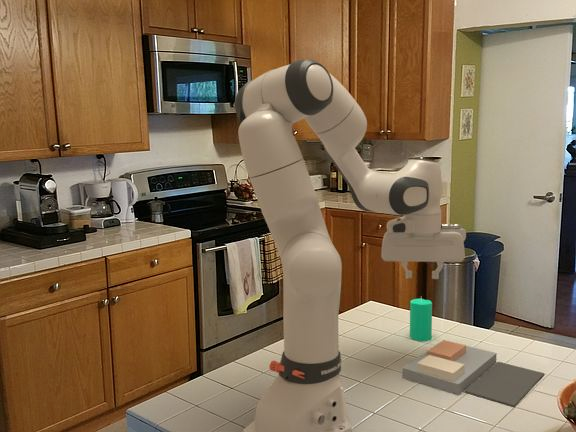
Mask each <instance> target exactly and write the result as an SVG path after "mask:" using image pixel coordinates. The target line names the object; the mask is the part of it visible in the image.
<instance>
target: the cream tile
mask: <svg viewBox="0 0 576 432" xmlns="http://www.w3.org/2000/svg"><path fill="white" fill-rule="evenodd" d="M417 371H418V372H422V373H425V374H428V375H432V376H435V377H439V378H442V379H446V380H449V381H455V380H456V379H457V378H458V377H460V376H461V375H462V374H463V373H465V364H461V363H458V362H454V361H450V360H446V359H443V358H439V357H435V356H431V355H428V356H427V357H425V358H424V359H422V360H421V361H419V362H418V363H417Z"/></svg>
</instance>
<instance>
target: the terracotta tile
mask: <svg viewBox="0 0 576 432" xmlns="http://www.w3.org/2000/svg"><path fill="white" fill-rule="evenodd" d="M466 346H467V345H466V344H461V343H458V342H454V341H449V340H445V339H443V340H442V341H440V342H439V343H437V344H436V345H434V346H432V347H431V348H429V349H428V350H427V351H426V352H427V356H428V355H431V356H435V357H439V358H443V359H446V360H450V361H456V360H457V359H459V358H460V357H461V356H463V355H464V354H465V353H466Z"/></svg>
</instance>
